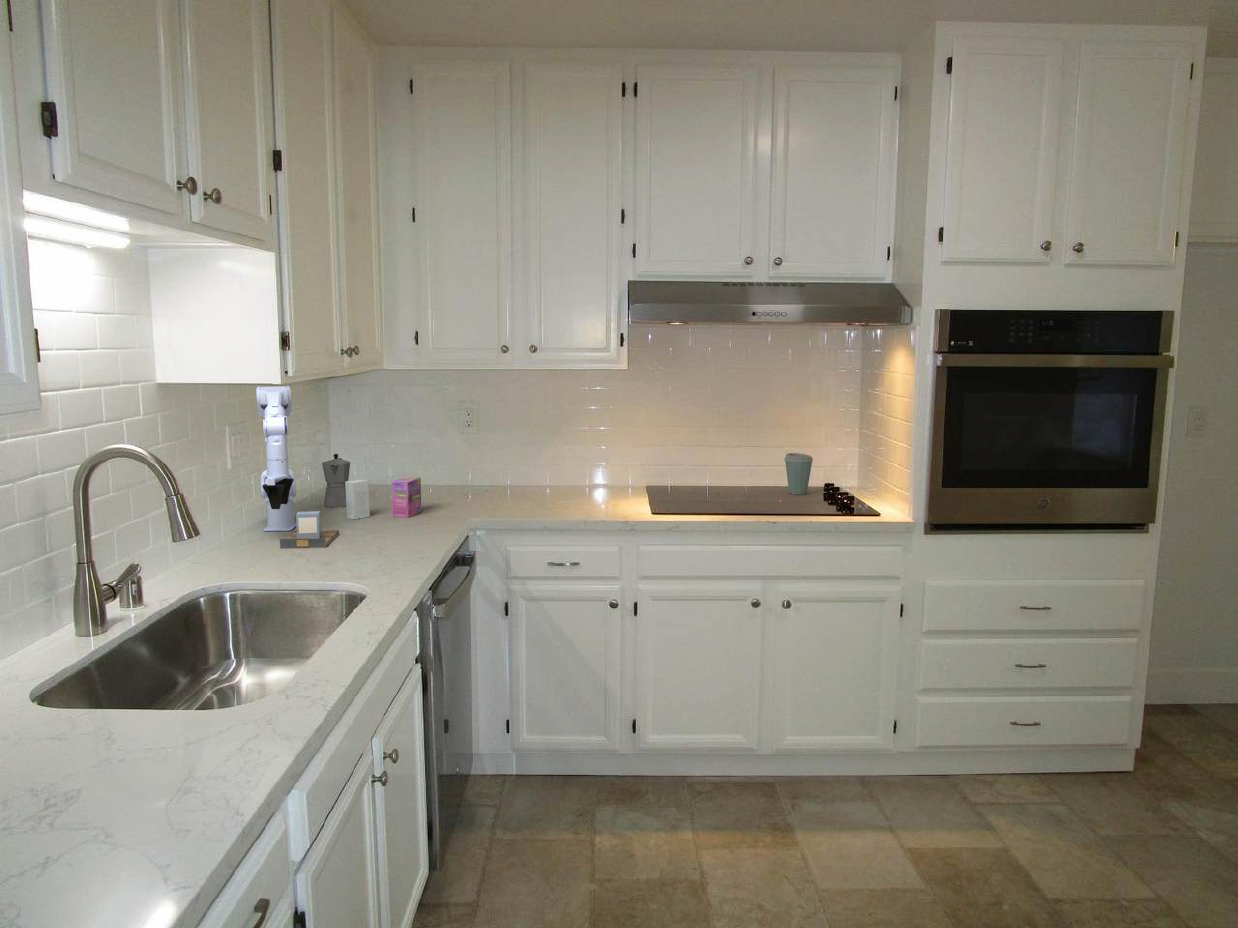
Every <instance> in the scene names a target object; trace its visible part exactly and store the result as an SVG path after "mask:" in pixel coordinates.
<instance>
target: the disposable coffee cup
mask: <svg viewBox="0 0 1238 928" xmlns="http://www.w3.org/2000/svg"><path fill="white" fill-rule="evenodd" d="M813 461H814V459H813V457H812V456H811V455H809V454H805V453H799V452H788V453H786V455H785V457H784V462H785V470H786V479H787V486H788V492H789V494H790V493H793V494H792V495H794V494H804V495H806V494H807V493H808V490H809V489H808V487H809V483H810V482H809V481H810V475H811V470H812V466H813ZM805 493H806V494H805Z"/></svg>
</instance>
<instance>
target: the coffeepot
mask: <svg viewBox="0 0 1238 928" xmlns="http://www.w3.org/2000/svg"><path fill="white" fill-rule="evenodd" d="M333 458H334V459H330V460H327V461H323V462H322V463H321V465H322V470H323V474H324V480H325V482H326V488H325V496H324V502H323V503H324V504H323V505H324V508H328V507H330V508H331V509H339V508H338V507H341V508H347V506H346V488H345V482H347V481H349V477H350V470H351V469H350V468H351V462H350V461H348V460H346V459H345V460H344V459H342V457H341V458H340V457H339V454H338V453H334V454H333ZM330 508H329V509H330Z"/></svg>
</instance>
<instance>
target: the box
mask: <svg viewBox="0 0 1238 928" xmlns="http://www.w3.org/2000/svg"><path fill="white" fill-rule="evenodd" d="M391 501H392V502H391V504H392V505H391V506H392V507H391V509H392V517H393V518H405V519H407V518H408V519H409V518H410V517H412V516H415V515H417V514H420V513H422V477H419V476H403V477H401V478H398V479H396V480H392V481H391Z"/></svg>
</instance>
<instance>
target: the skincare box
mask: <svg viewBox="0 0 1238 928" xmlns="http://www.w3.org/2000/svg"><path fill="white" fill-rule="evenodd" d="M345 488H346V506H347V507H346V517H347V519H349V518H350V519H349V520H353V519H355V520H358V519H359V518H360V519H365V518H369V517H371V510H370V493H369V492H370V490H369V480H368V479H355V480H348V481H347V482H345Z"/></svg>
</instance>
